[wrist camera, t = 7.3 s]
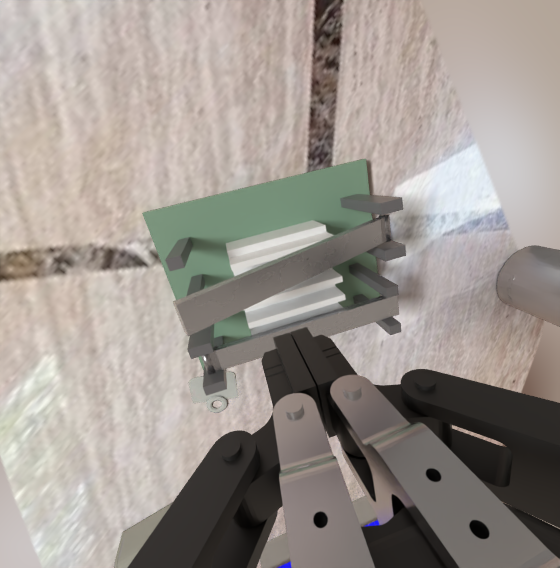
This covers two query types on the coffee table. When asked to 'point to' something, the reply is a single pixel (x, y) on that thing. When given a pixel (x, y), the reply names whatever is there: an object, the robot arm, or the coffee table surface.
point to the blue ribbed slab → (277, 549)
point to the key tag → (222, 396)
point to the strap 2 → (317, 325)
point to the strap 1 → (277, 275)
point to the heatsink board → (273, 250)
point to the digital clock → (136, 538)
